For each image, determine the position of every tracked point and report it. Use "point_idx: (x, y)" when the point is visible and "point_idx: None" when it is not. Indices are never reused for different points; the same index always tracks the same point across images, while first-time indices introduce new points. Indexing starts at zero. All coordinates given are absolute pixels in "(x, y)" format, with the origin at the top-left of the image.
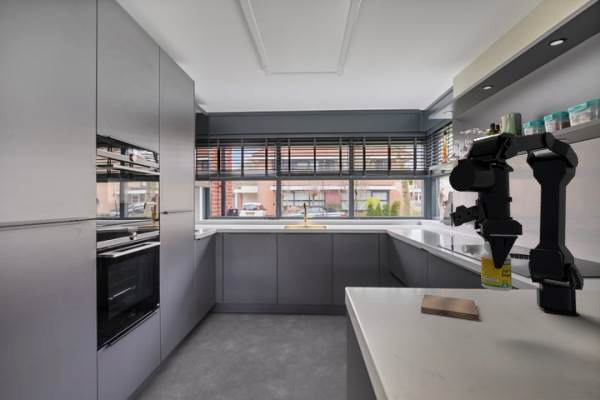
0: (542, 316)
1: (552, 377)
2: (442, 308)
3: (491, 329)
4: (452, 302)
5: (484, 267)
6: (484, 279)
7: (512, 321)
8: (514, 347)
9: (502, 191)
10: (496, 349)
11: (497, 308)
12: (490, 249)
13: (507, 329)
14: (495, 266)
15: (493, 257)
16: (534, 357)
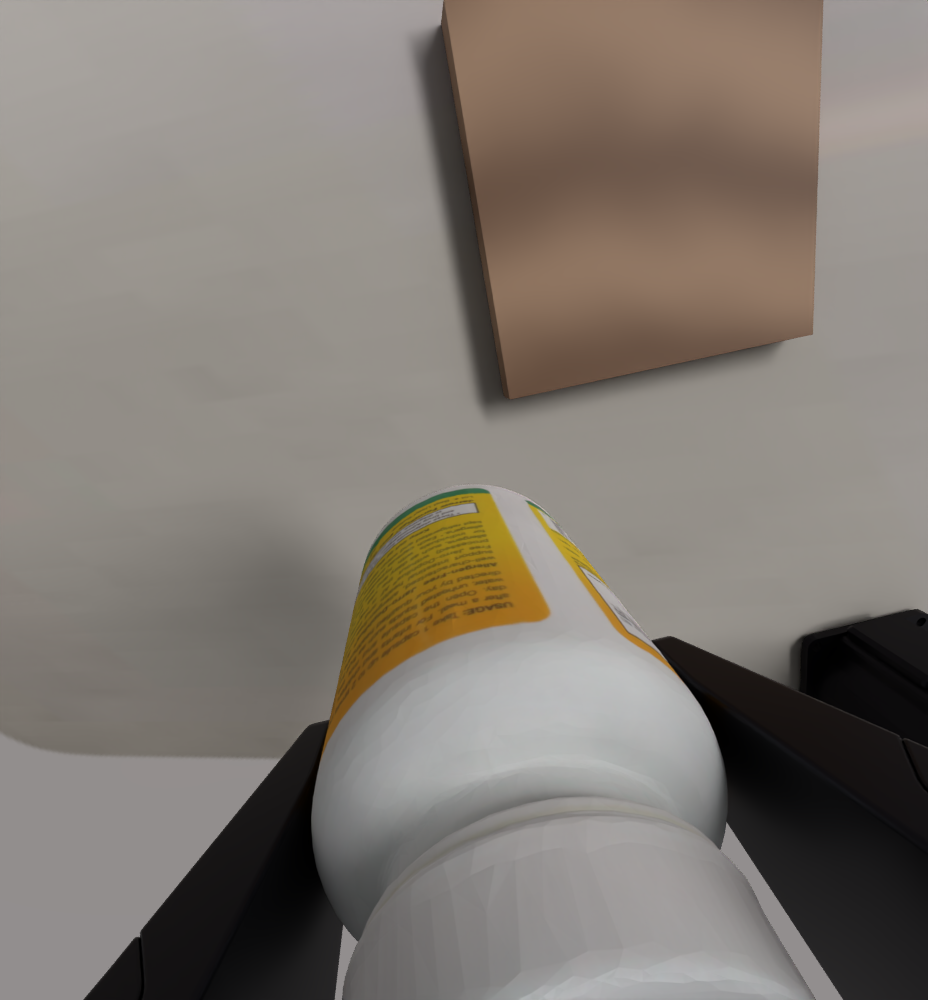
0: (736, 628)
1: (49, 674)
2: (504, 172)
3: (399, 466)
4: (691, 211)
5: (381, 603)
6: (390, 538)
7: (585, 533)
8: (235, 564)
9: None
10: (149, 510)
11: (775, 455)
12: (177, 982)
13: None
14: (298, 744)
15: (204, 856)
16: (186, 626)
